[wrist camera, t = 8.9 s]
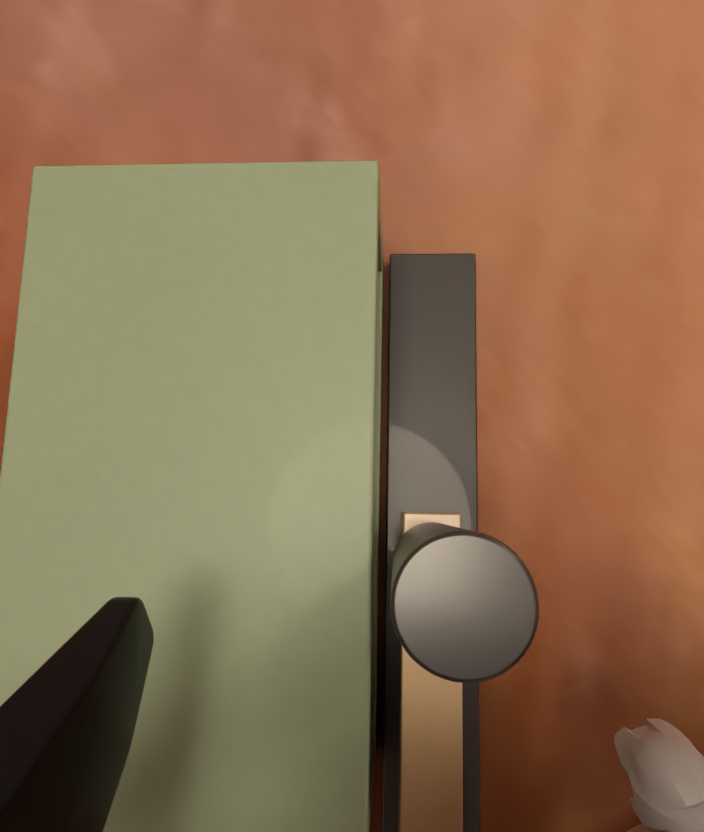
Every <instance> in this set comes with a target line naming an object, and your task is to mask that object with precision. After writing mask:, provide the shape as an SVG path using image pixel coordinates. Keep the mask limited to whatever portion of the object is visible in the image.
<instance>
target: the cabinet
mask: <svg viewBox="0 0 704 832" xmlns="http://www.w3.org/2000/svg"><path fill="white" fill-rule="evenodd" d="M382 318H383V243H382V222H381V201H380V180H379V164H378V161H321V162H263V163H206V164H149V165H91V166H36V167H34V168H33V175H32V184H31V194H30V203H29V212H28V222H27V231H26V240H25V250H24V259H23V269H22V278H21V287H20V297H19V306H18V315H17V325H16V334H15V344H14V353H13V362H12V372H11V381H10V390H9V400H8V409H7V419H6V428H5V437H4V447H3V456H2V465H1V475H0V706H1V705H2V704H3V703H4V702H5V701H6V700H7V699H8V698H9V697H10V696H11V695H12V694H13V693H14V692H15V691H16V690H17V689H18V688H19V687H20V686H22V685H23V684H24V683H25V682H26V681H27V680H28V679H29V678H30V677H31V676H32V675H33V674H34V673H35V672H36V671H37V670H38V669H39V668H40V667H41V666H42V665H43V664H44V663H45V662H46V661H47V660H48V659H49V658H50V657H51V656H52V655H53V654H54V653H55V652H56V651H57V650H58V649H59V648H60V647H61V646H62V645H63V644H64V643H65V642H67V641H68V640H69V639H70V638H71V637H72V636H73V635H74V634H75V633H76V632H77V631H78V630H79V629H80V628H81V627H82V626H83V625H84V624H85V623H86V622H87V621H88V620H89V619H90V618H91V617H92V616H93V615H94V614H95V613H96V612H97V611H98V610H99V609H100V608H101V607H102V606H103V605H104V604H105V603H106V602H108V601H109V600H110V599H112V598H114V597H138V598H140V599H141V600H142V601H143V603H144V606H145V609H146V611H147V614H148V617H149V620H150V623H151V625H152V628H153V633H154V642H153V648H152V653H151V658H150V662H149V667H148V671H147V676H146V680H145V685H144V689H143V694H142V699H141V703H140V708H139V712H138V717H137V721H136V726H135V730H134V735H133V739H132V743H131V747H130V750H129V754H128V757H127V760H126V764H125V767H124V770H123V773H122V776H121V779H120V782H119V785H118V788H117V791H116V794H115V797H114V800H113V803H112V806H111V809H110V812H109V815H108V818H107V821H106V824H105V827H104V830H103V832H370V820H371V807H372V795H373V782H374V770H375V758H376V712H377V646H378V581H379V515H380V449H381V383H382ZM402 512H437V513H460V514H461V515H462V529H466V530H470V531H474V532H478V505H477V383H476V261H475V254H391V255H390V285H389V359H388V433H387V507H386V580H385V654H384V728H383V802H382V832H398V762H399V663H400V641H399V639H398V637H397V635H396V632H395V629H394V626H393V623H392V617H391V609H390V598H391V580H392V562H393V553H394V550H395V547H396V545H397V543H398V541H399V539H400V538H401V513H402ZM462 710H463V832H480V749H479V682H476V683H462Z"/></svg>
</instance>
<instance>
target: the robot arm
mask: <svg viewBox="0 0 704 832" xmlns="http://www.w3.org/2000/svg"><path fill="white" fill-rule="evenodd" d="M153 642H154V633H153V628H152V625H151V623H150V620H149V617H148V614H147V611H146V609H145V606H144V603H143V601H142V600H141V599H140V598H138V597H114V598H112V599H110V600H109V601H108V602H106V603H105V604H104V605H103V606H102V607H101V608H100V609H99V610H98V611H97V612H96V613H95V614H94V615H93V616H92V617H91V618H90V619H89V620H88V621H87V622H86V623H85V624H84V625H83V626H82V627H81V628H80V629H79V630H78V631H77V632H76V633H75V634H74V635H73V636H72V637H71V638H70V639H69V640H68V641H67V642H65V643H64V644H63V645H62V646H61V647H60V648H59V649H58V650H57V651H56V652H55V653H54V654H53V655H52V656H51V657H50V658H49V659H48V660H47V661H46V662H45V663H44V664H43V665H42V666H41V667H40V668H39V669H38V670H37V671H36V672H35V673H34V674H33V675H32V676H31V677H30V678H29V679H28V680H27V681H26V682H25V683H24V684H23V685H22V686H20V687H19V688H18V689H17V690H16V691H15V692H14V693H13V694H12V695H11V696H10V697H9V698H8V699H7V700H6V701H5V702H4V703H3V704H2V705H1V706H0V832H103V830H104V827H105V824H106V821H107V818H108V815H109V812H110V809H111V806H112V803H113V800H114V797H115V794H116V791H117V788H118V785H119V782H120V779H121V776H122V773H123V770H124V767H125V764H126V760H127V757H128V754H129V750H130V747H131V743H132V739H133V735H134V730H135V726H136V721H137V717H138V712H139V708H140V703H141V699H142V694H143V689H144V685H145V680H146V676H147V671H148V667H149V662H150V658H151V653H152V648H153Z"/></svg>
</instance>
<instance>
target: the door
mask: <svg viewBox="0 0 704 832" xmlns="http://www.w3.org/2000/svg"><path fill="white" fill-rule="evenodd" d="M390 609H391V617H392V623H393V626H394V629H395V632H396V635H397V637H398V639H399V641H400V663H399V762H398V832H463V710H462V683H476V682H482V681H486V680H490V679H493V678H495V677H497V676H499V675H501V674H503V673H505V672H506V671H508V670H509V669H511V668H512V667H513V666H514V665H515V664H516V663H518V662H519V660H520V659H521V658H522V657H523V656H524V655H525V653H526V651H527V650H528V648H529V647H530V645H531V643H532V641H533V638H534V636H535V633H536V630H537V625H538V619H539V600H538V594H537V590H536V586H535V583H534V580H533V578H532V576H531V574H530V572H529V570H528V568H527V567H526V565H525V564H524V562H523V561H522V560H521V559H520V557H519V556H518V555H517V554H516V553H515V552H514V551H513V550H512V549H510V548H509V547H508V546H507V545H505V544H504V543H502V542H501V541H499V540H497V539H495V538H493V537H491V536H488V535H485V534H483V533H478V532H474V531H470V530H466V529H462V515H461V514H460V513H437V512H402V513H401V538H400V539H399V541H398V543H397V545H396V547H395V550H394V553H393V562H392V580H391V598H390Z"/></svg>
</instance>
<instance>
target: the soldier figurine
mask: <svg viewBox="0 0 704 832" xmlns="http://www.w3.org/2000/svg"><path fill="white" fill-rule="evenodd" d="M614 741H615V747H616V751H617V754H618V758H619V761H620V763H621V765H622V766H623V768H624V769H625V771H626V773H627V774H628V777H629V781H630V784H631V787H632V791H633V796H632V797H631V798H630V801H631V806H632V808H633V810H634V811H635V813H636V814H637V816H638V818H639V819H640V821H641V824H639V825H637V826H635V827H633V828H631V829H630V830H628V831H626V832H704V756H703V755H702V754H701V753H700V752H698V751H697V750H696V748H695V747H694V746H693V744H692V743H691V741H690V740H689V739H688V738H687V737H686V736H685V735H684V734H682V733H681V732H680V731H679V730H678V729H677V728H676V727H675V726H673V725H671V724H670V723H668V722H667V721H665V720H662V719H659V718H656V719H646V725H643V726H640V727H638V728H635V729H632V730H629V729H627V728H626V727H623V728H621V729H620V730H619V731H618V732H617V733H615V738H614Z"/></svg>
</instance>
